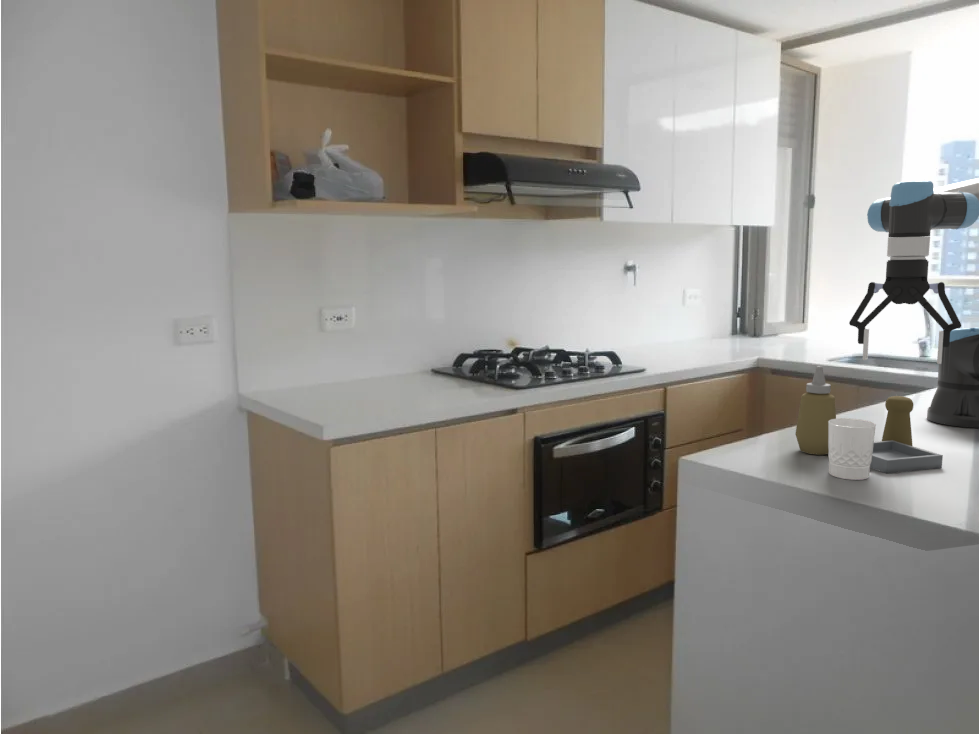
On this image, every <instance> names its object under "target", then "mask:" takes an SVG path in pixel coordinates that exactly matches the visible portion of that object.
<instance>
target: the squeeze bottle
mask: <svg viewBox="0 0 979 734" xmlns="http://www.w3.org/2000/svg"><path fill="white" fill-rule="evenodd" d="M815 367H816V368H815V369H814V370H815V371H814V373H813V378H812V381H811V382H807V383H806V387H805V393H803V394H802V395H801V396H800V403H799V409H798V415H797V423H796V428H795V437H796V440H797V443H798V444H797V445H798V447H799V450H800V451H801V452H803V453H805V454H809V455H818V456H820V455H821V456H822V455H823V456H824V455H828V454H829V449H828V421H829V420H831V419H837V412H836V411H837V410H836V397H835V396H834V395H833V394H831V391H832V390H831V389H832V388H831V384H830V383H826V377H825V373H824V368H823V366H820V365H817V366H815Z"/></svg>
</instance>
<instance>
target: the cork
mask: <svg viewBox="0 0 979 734" xmlns="http://www.w3.org/2000/svg"><path fill="white" fill-rule="evenodd" d="M885 409H886V410H887V413H886V414H887V415H886V419H885V424H884V429H883V433H882V437H881V438H882V439H881V441H890V440H893V441H896V442H900V443H903V444H907V445H910V446H913V434H912V423H911V412H912V411H913V410H914V402H913V399H911V398H910V397H906V396H902V395H892V396H888V397H887V399H886V400H885ZM913 447H914V446H913Z"/></svg>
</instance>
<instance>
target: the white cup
mask: <svg viewBox="0 0 979 734" xmlns="http://www.w3.org/2000/svg"><path fill="white" fill-rule="evenodd" d="M876 426H877V424H876V423H875V422H873V421H869V420H864V419H857V418H847V417H846V418H845V417H844V418H836V419H831V420H829V421H828V449H829V454H827V455H828V460H829V461H828V473H829V474H830V476H833V477H834V478H838V479H843V480H850V481H859V480H860V481H861V480H866V479H868V478H869V477H870V472H871V468H870V464H871V460H872V453H873V445H874V442H875V434H876Z"/></svg>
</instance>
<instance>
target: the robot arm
mask: <svg viewBox="0 0 979 734" xmlns="http://www.w3.org/2000/svg"><path fill="white" fill-rule="evenodd" d="M866 216H867V218H866V219H867V222H868V226H869V227H870V228H871V229H872V230H873V231H876V232H877V233H878V232H881V233H883V232H884V233H888V237H887V246H886V247H887V249H886V251H887V252H886V256H887V258H889V259H887V261H886V270H885V280H884V283H877V282H874V281H871V282H869V283H868V285H867V292H866V294H865V295H864V297H863V299H862V301H860V304H859V305H858V307H857V309H856V311H855V312H854V314H853V315H852V316H851V319H850V320H849V323H848V324H849V326H851V327H854V328H856V329H857V343H858V344H859V345H863V346H862V347H863V348H862V361H867V360H868V357H869V336H870V328H867V327H866V326H868V325H869V324H870V323H871V322H873V320H874V319H875V318H876V317H877V316H878V315H879V314H880V313H881V312H882V311H883V310H884V309H885V308H886V307H887V306H888V305H890V303H891V302H892V303H893V304H896V305H902V304H907V305H915V304H917V303H918V304H920V305H921V306H922V307H923V308H924V310H925V311H926V312H927V314H928V315H930V316H931V318H932V319H933V320H934V321H935V322H936V323H937V324H938V325H939V327H940V328H942V329H941V330H939V331H938V344H937V358H936V364H938V368H937V369H938V370H937V388H936V391H935V392H934V394H933V397H932V399H931V403H930V405H929V406H928V408H927V412H926V419H927V420H928V421H931V422H933V423H935V424H936V423H937V424H941V425H944V426H945V425H947V426H953V427H960V428H961V427H962V428H975V429H976V428H977V429H978V428H979V327H964V328H962V323H961V321H960V319H959V317H958V315H957V313H956V311H955V310H954V308H953V305H952V304H951V302H950V300H949V297H948V295H947V293H946V287H945V286H946V285H945V283H944V282H943V281H939V282H935V283H929V281H928V279H929V278H928V273H929V262H930V261H929V260H928V259H927V258H926V257H928V256H930V245H931V244H930V242H931V230H932V231H934V230H960V229H966V228H969V227H971V226H972V225H973V224H974V223H976V222H977V220H978V219H979V177H977V178H972V179H968V180H964V181H960V182H959V181H958V182H955V183H951V184H947V185H943V186H937V187H934V183H933V181H930V180H925V179H924V180H905V181H899V182H896V183H894V184H893V185H892V187H891V193H890V197H885V198H878V199H877V200H874V201H873V202H872V203H871V204H870V206H869V207H868V210H867V215H866ZM880 290H882V291H883V292H884V293H885V294H886V295H887V296H886V297H885V298H884V299H883V301H882V302H880V303H879V304H878V305H877V307H875V308H874V310H872V311H871V312H870V313H869V314H868V315H867V316H866V317H865V318H864V319H862V321H859V319H860V318H861V316H862V314H863V313H864V311H865V310H866V308H867V306H868V305H869V303H870V302H871V300H872V298H873V297H874V294H878V292H879V291H880ZM929 290H932V291H933V293H934V294H937V295H938V297H939V300H940V301H941V303H942V306H943V307H944V309H945V311H946V313H947V315H948V317H949V319H950V321H951V323H948V322H947V321H946V320H945V319H944V318H943V317H942V315H941V314H940V313H939V312H938V311H937V310H936V309H935V308H934V307H933V305H932V304H931V303H930V302H929V301H928V300H927V299H926V297H924V296H925V295H926V294H927V293H928V291H929Z"/></svg>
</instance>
